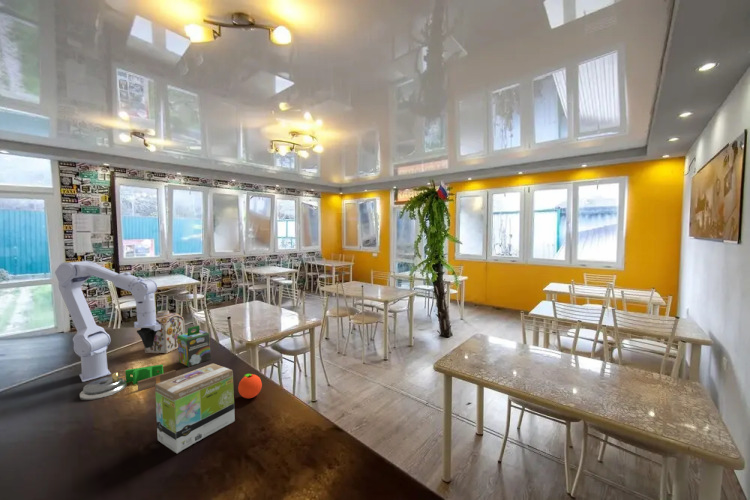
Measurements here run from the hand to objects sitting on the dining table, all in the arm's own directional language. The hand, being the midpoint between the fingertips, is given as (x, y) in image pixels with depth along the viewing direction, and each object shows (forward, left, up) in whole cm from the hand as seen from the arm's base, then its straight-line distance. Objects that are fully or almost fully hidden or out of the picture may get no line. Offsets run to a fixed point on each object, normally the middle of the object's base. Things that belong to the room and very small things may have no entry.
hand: (148, 347), depth 118 cm
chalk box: (+2, +15, -10) cm, 18 cm away
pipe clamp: (+6, -4, -10) cm, 13 cm away
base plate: (+4, -14, -10) cm, 18 cm away
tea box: (+55, -2, -10) cm, 56 cm away
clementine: (+49, +15, -10) cm, 52 cm away
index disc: (+4, -14, -9) cm, 17 cm away
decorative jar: (-26, +12, -10) cm, 30 cm away
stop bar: (+14, -1, -10) cm, 17 cm away
